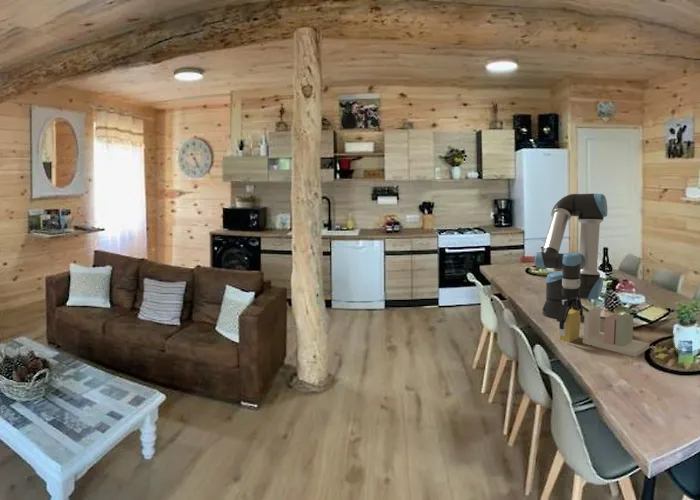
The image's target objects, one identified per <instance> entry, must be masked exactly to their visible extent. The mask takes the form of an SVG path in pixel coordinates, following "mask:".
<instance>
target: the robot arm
mask: <svg viewBox="0 0 700 500" xmlns="http://www.w3.org/2000/svg"><path fill="white" fill-rule="evenodd" d="M606 198H607V197H606V195H605V194H603V193H570V194H567V195H566V196H564V197H561V199H559V200H558V201H557V202H556V203H555V205H554V206H553V207H552V210H551V213H550V216H551V221H550V225H549V227H548V230H547V235H546V237H545V240H544V243H543V247H542V250H541V251H538V252H535V254H534V266H535V267H536V268H541V269H553V270H555V269H557V270H560V271H554V272H549V273H548V274H547V276H546V281H545V285H546V286H545V290H546V291H545V292H546V293H545V302H544V305H543V307H542V311H541V312H542V315H543V316H544V317H548V318H550V319H551V318H552V319H556V322H559V327H558V328H559V329H558V331H559V332H558V335H559V336H560V335H561V336H566V322H565V320H566V318H567V315H568V312H569V310H570V309H574V310H579V311H580V316H583V315H584V310H583V309H584V308H583V305H582V300H581V299H585V300H598V299H599V298H600V297H601V293H602V292H603V290H602V289H603V284H604V278H603V277H602V276H601V272H599V271H598V261H599V259H598V258H599V256H598V255H599V244H600V243H599V242H600V225H601V223H602V222H603V221H604V218H606V217H607V216H608V202H607V199H606ZM572 217H577V221H579V223H580V235H579V236H580V238H579V239H580V240H579V252H566V253H562V252H561V253H560V250H561V249H560V248H561V247H562V243H563V242H562V241H563V239H564V235H565V232H566V228H567V225H568V222H569V221H570V219H571V218H572ZM580 329H581V325H580V326H579V330H580Z"/></svg>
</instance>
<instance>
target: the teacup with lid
mask: <svg viewBox="0 0 700 500" xmlns="http://www.w3.org/2000/svg"><path fill="white" fill-rule="evenodd" d="M613 314H615V313H614V312H612V311H609V309H608V308H603V309H602V310H601V314H600V332H601V333H604V329H605V318H607V317H609V316H611V315H613Z"/></svg>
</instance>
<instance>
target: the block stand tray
mask: <svg viewBox="0 0 700 500" xmlns="http://www.w3.org/2000/svg"><path fill="white" fill-rule="evenodd" d="M601 311H602V310H601V307H595V308H593V309H591V310H588V311H586V312H584V316H583V317H584V319H583V321H584V322H583V325H584V326H583V338H582V344H583V343H585V344H584V345H586V344H588V345H587V346H590V345H592V346H591V347H594V346H595V347H596V348H598V349H602V350H607V351H611V352H614V353H619V354H623V355H626V356H629V357H630V356H631V357H634V358H636V357H639V355H641V354H642V353H644V352H645V351H647V350H648V349H650V342H645V341H641V340H640V341H639V340H636V339H633V335H634V333H633V332H634V331H633V330H634V314H629V313H623V314H617V313H614V314H613V315H611V316H609V317H607V318H605V329H604V333H601V332H600V314H601ZM595 347H594V348H595Z"/></svg>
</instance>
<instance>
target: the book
mask: <svg viewBox="0 0 700 500" xmlns="http://www.w3.org/2000/svg"><path fill="white" fill-rule="evenodd" d="M565 322H566V336H561V335H559V341H562V340H563V342H566V341H567V343H572V342H573V341H575V340H577V339H579V338H580V329H579V326H580V327H581V315H580V311H579V310H574V309H573V308H572V309H570V310H569V312H568V315H567V318H566V320H565Z"/></svg>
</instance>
